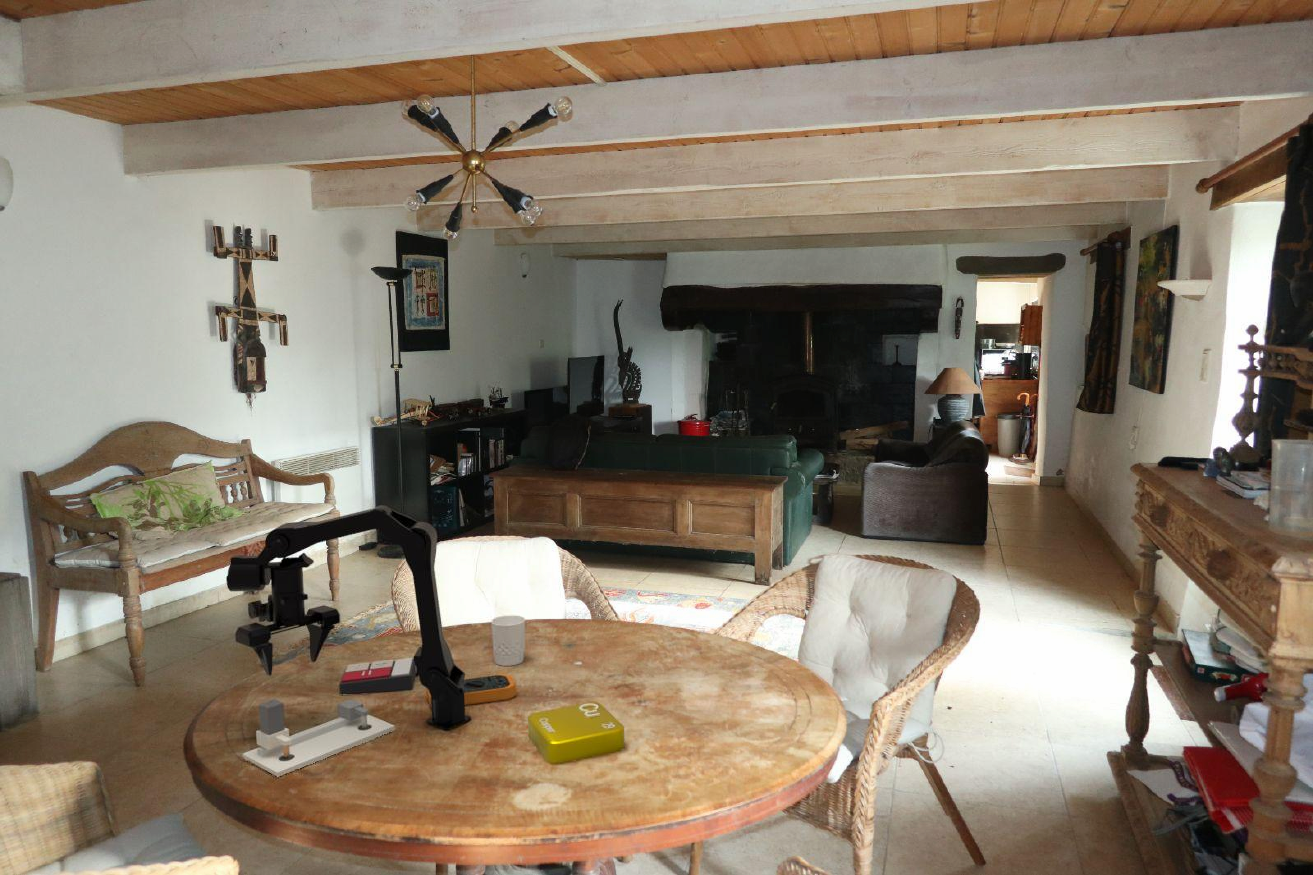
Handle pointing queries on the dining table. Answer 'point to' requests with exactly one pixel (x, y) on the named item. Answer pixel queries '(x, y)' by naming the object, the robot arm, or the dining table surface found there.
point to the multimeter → (486, 689)
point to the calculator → (378, 677)
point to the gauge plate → (322, 740)
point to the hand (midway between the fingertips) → (291, 668)
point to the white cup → (508, 639)
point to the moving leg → (273, 727)
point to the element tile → (575, 732)
